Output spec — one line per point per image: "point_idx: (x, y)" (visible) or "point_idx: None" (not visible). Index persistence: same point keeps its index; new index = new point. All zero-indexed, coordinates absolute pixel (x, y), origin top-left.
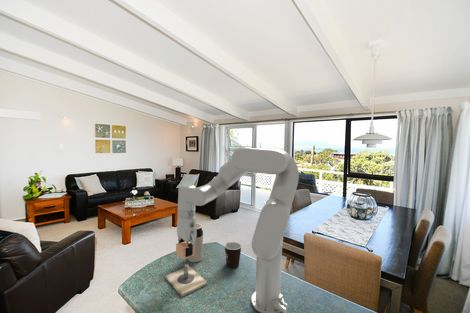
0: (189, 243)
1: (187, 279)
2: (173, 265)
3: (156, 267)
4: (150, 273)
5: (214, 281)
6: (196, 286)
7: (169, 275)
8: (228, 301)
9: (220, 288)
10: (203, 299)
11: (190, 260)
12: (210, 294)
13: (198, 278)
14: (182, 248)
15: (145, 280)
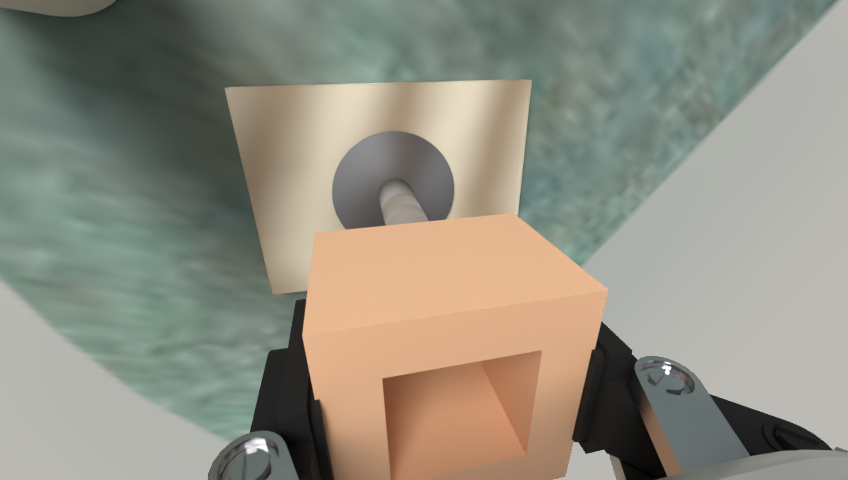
0: (467, 352)
1: (415, 191)
2: (107, 184)
3: (86, 304)
4: (164, 348)
5: (532, 2)
6: (515, 170)
7: (287, 273)
8: (722, 60)
9: (618, 19)
10: (601, 173)
11: (97, 7)
12: (604, 117)
13: (451, 113)
14: (544, 474)
15: (238, 378)
